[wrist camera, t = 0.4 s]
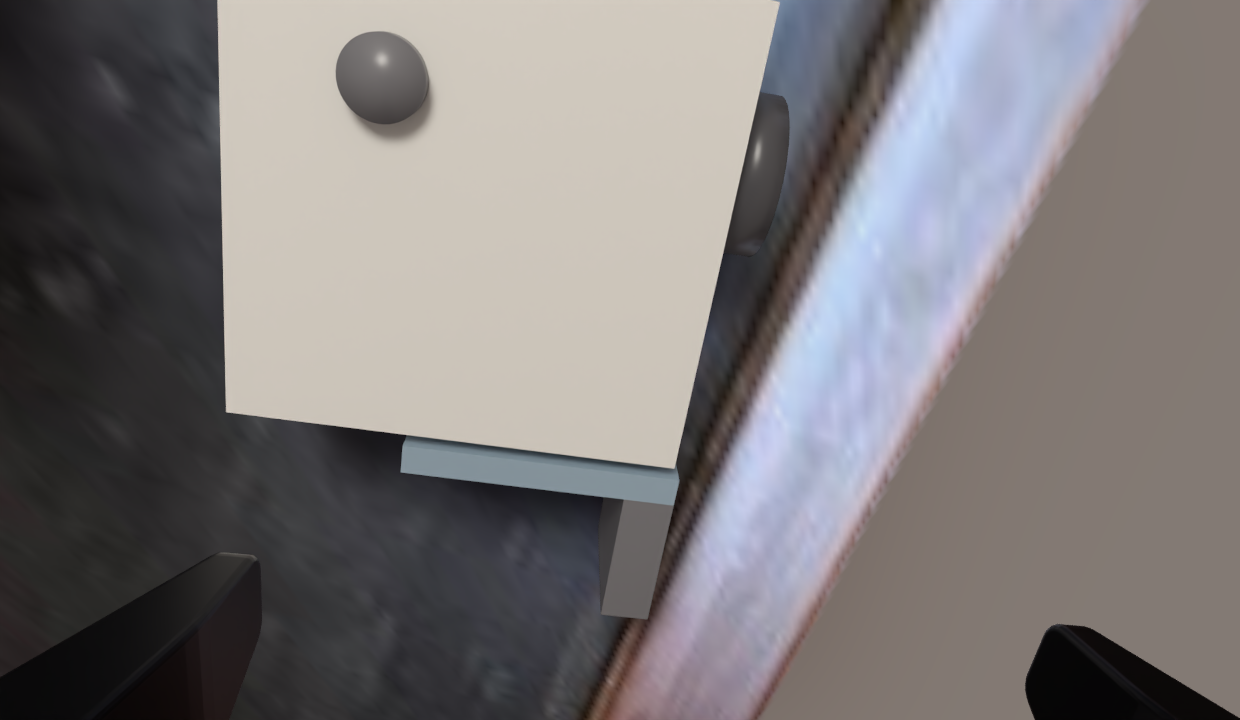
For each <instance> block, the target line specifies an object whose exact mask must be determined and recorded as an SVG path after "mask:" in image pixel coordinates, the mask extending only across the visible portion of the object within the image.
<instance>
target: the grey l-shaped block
mask: <svg viewBox="0 0 1240 720" xmlns="http://www.w3.org/2000/svg"><path fill="white" fill-rule="evenodd" d="M401 472H402V473H410V474H418V475H426V476H434V477H443V478H451V479H459V480H467V481H476V482H484V483H492V484H500V485H509V486H517V487H525V488H533V489H542V490H550V491H558V492H566V493H574V494H583V495H591V496H599V497H604V498H603V503H602V508H601V514H600V519H599V524H598V542H599V574H600V606H601V615H610V616H620V617H629V618H638V619H648V615H649V611H650V606H651V602H652V598H653V593H654V589H655V584H656V580H657V576H658V571H659V567H660V563H661V558H662V554H663V550H664V545H665V541H666V537H667V532H668V528H669V524H670V519H671V515H672V511H673V506H674V502H675V498H676V493H677V489H678V485H679V476H678V471H677V466H676V464H675V468H674V469H672V468H664V467H657V466H649V465H641V464H633V463H625V462H617V461H609V460H601V459H593V458H585V457H577V456H569V455H562V454H554V453H546V452H538V451H530V450H522V449H514V448H506V447H498V446H490V445H482V444H475V443H467V442H459V441H451V440H443V439H435V438H427V437H419V436H411V435H407V436H406V439H405V441H404V444H403V447H402V460H401Z"/></svg>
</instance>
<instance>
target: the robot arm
mask: <svg viewBox="0 0 1240 720" xmlns="http://www.w3.org/2000/svg"><path fill="white" fill-rule="evenodd" d="M261 623H262V598H261V568H260V563H259V560H258V559H257V558H256V557H255V556H254V555H247V554H235V553H216V554H214V555H212V556H210V557H208V558H206V559H205V560H203V561H201V562H199V563H198V564H196V565H194V566H193V567H191V568H189V569H187V570H186V571H184V572H182V573H180V574H179V575H177V576H175V577H173V578H172V579H170V580H168V581H166V582H165V583H163V584H161V585H160V586H158V587H156V588H154V589H153V590H151V591H149V592H147V593H146V594H144V595H142V596H140V597H139V598H137V599H135V600H133V601H132V602H130V603H128V604H127V605H125V606H123V607H121V608H120V609H118V610H116V611H114V612H113V613H111V614H109V615H107V616H106V617H104V618H102V619H100V620H99V621H97V622H95V623H94V624H92V625H90V626H88V627H87V628H85V629H83V630H81V631H80V632H78V633H76V634H74V635H73V636H71V637H69V638H67V639H66V640H64V641H62V642H61V643H59V644H57V645H55V646H54V647H52V648H50V649H48V650H47V651H45V652H43V653H41V654H40V655H38V656H36V657H34V658H33V659H31V660H29V661H28V662H26V663H24V664H22V665H21V666H19V667H17V668H15V669H14V670H12V671H10V672H8V673H7V674H5V675H3V676H1V677H0V720H229V718H230V716H231V713H232V710H233V707H234V705H235V702H236V699H237V696H238V694H239V691H240V688H241V685H242V683H243V680H244V677H245V674H246V672H247V669H248V666H249V663H250V661H251V658H252V655H253V652H254V650H255V647H256V644H257V641H258V638H259V634H260V630H261ZM1025 691H1026V696H1027V700H1028V703H1029V706H1030V708H1031V711H1032V714H1033V716H1034V719H1035V720H1240V718H1238V717H1237V716H1235V715H1234V714H1232V713H1230V712H1229V711H1227V710H1225V709H1224V708H1222V707H1220V706H1219V705H1217V704H1215V703H1214V702H1212V701H1210V700H1209V699H1207V698H1205V697H1204V696H1202V695H1200V694H1199V693H1197V692H1196V691H1194V690H1192V689H1190V688H1189V687H1187V686H1185V685H1184V684H1182V683H1181V682H1179V681H1177V680H1176V679H1174V678H1172V677H1171V676H1169V675H1167V674H1166V673H1164V672H1162V671H1161V670H1159V669H1157V668H1156V667H1154V666H1152V665H1151V664H1149V663H1148V662H1146V661H1144V660H1143V659H1141V658H1139V657H1138V656H1136V655H1134V654H1133V653H1131V652H1129V651H1128V650H1126V649H1124V648H1123V647H1121V646H1119V645H1118V644H1116V643H1114V642H1113V641H1111V640H1109V639H1108V638H1106V637H1105V636H1103V635H1101V634H1100V633H1098V632H1096V631H1095V630H1093V629H1091V628H1088V627H1085V626H1075V625H1074V626H1073V625H1063V624H1056V625H1053V626H1051V627H1050V628H1049V629H1048V630H1046V632H1045V634H1044V636H1043V638H1042V641H1041V643H1040V646H1039V648H1038V650H1037V653H1036V655H1035V657H1034V660H1033V662H1032V664H1031V667H1030V669H1029V671H1028V674H1027V677H1026V683H1025Z"/></svg>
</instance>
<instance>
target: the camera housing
mask: <svg viewBox="0 0 1240 720" xmlns="http://www.w3.org/2000/svg"><path fill="white" fill-rule="evenodd" d="M779 4H780V2H776V1H771V0H218V46H219V94H220V142H221V190H222V238H223V286H224V334H225V382H226V412H229V413H237V414H245V415H253V416H261V417H269V418H277V419H285V420H293V421H300V422H308V423H316V424H324V425H332V426H340V427H348V428H356V429H364V430H372V431H380V432H387V433H395V434H403V435H411V436H419V437H427V438H435V439H443V440H451V441H459V442H467V443H475V444H482V445H490V446H498V447H506V448H514V449H522V450H530V451H538V452H546V453H554V454H562V455H569V456H577V457H585V458H593V459H601V460H609V461H617V462H625V463H633V464H641V465H649V466H657V467H664V468H672V469H674V468H675V464H676V460H677V455H678V451H679V446H680V442H681V437H682V433H683V429H684V424H685V420H686V415H687V411H688V406H689V402H690V398H691V393H692V389H693V384H694V380H695V376H696V371H697V367H698V362H699V358H700V353H701V349H702V345H703V340H704V336H705V331H706V327H707V322H708V318H709V314H710V309H711V305H712V300H713V296H714V291H715V287H716V283H717V278H718V274H719V269H720V265H721V260H722V256H723V253H728V254H734V255H741V256H747V257H750V256H753V255H754V254H755V253H756V252H757V251H758V250H759V248H760V247H761V245H762V243H763V241H764V240H765V237H766V235H767V233H768V231H769V228H770V226H771V223H772V220H773V217H774V214H775V211H776V208H777V204H778V201H779V197H780V193H781V189H782V184H783V179H784V174H785V169H786V162H787V155H788V146H789V111H788V106H787V103H786V100H785V99H784V97H782V96H779V95H773V94H767V93H762V92H760V88H761V83H762V79H763V74H764V70H765V66H766V61H767V57H768V52H769V48H770V43H771V39H772V35H773V30H774V26H775V21H776V17H777V12H778V8H779Z"/></svg>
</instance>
